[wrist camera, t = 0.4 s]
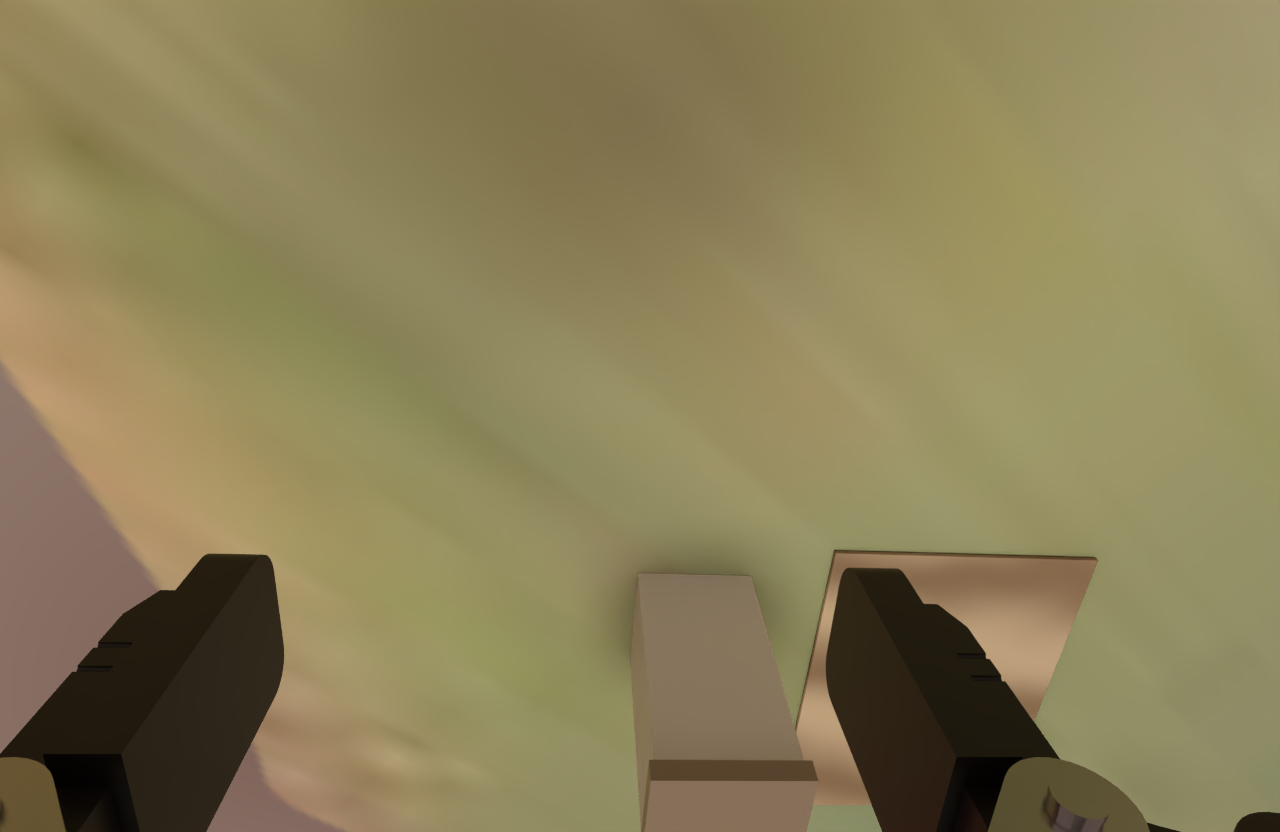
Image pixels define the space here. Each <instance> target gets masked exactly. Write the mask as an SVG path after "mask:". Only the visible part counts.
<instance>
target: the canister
mask: <svg viewBox="0 0 1280 832" xmlns="http://www.w3.org/2000/svg"><path fill="white" fill-rule="evenodd" d="M630 667H631V682H632V698H633V714H634V730H635V745H636V761H637V777H638V793H639V808H640V824H641V832H806V830H807V826H808V822H809V818H810V814H811V810H812V806H813V802H814V798H815V794H816V790H817V786H818V782H819V781H818V777H817V774H816V771H815V767H814V764H813V761H812V760H804V758H803V755H802V751H801V748H800V744H799V741H798V737H797V734H796V730H795V727H794V723H793V720H792V716H791V713H790V710H789V706H788V703H787V699H786V696H785V692H784V689H783V685H782V682H781V678H780V675H779V672H778V668H777V665H776V661H775V658H774V654H773V651H772V647H771V644H770V640H769V637H768V634H767V630H766V627H765V623H764V620H763V616H762V613H761V609H760V606H759V602H758V599H757V595H756V592H755V589H754V585H753V582H752V578H751V576H736V575H696V574H656V573H638V578H637V589H636V600H635V611H634V622H633V634H632V645H631V656H630Z"/></svg>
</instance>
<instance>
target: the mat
mask: <svg viewBox="0 0 1280 832" xmlns="http://www.w3.org/2000/svg"><path fill="white" fill-rule="evenodd" d="M1097 562H1098V560H1097V559H1096V558H1084V557H1048V556H1012V555H976V554H940V553H903V552H867V551H834V556H833V560H832V565H831V569H830V574H829V578H828V583H827V587H826V592H825V597H824V601H823V606H822V610H821V615H820V619H819V624H818V628H817V633H816V638H815V642H814V647H813V651H812V656H811V660H810V665H809V669H808V674H807V678H806V683H805V688H804V692H803V697H802V701H801V706H800V710H799V715H798V719H797V724H796V728H795V730H796V734H797V737H798V741H799V744H800V748H801V751H802V755H803V758H804V760H812V761H813V764H814V767H815V771H816V774H817V777H818V781H819V782H818V786H817V790H816V794H815V798H814V802H813V805H872V804H871V802H870V799H869V797H868V794H867V791H866V789H865V786H864V784H863V781H862V779H861V776H860V774H859V771H858V769H857V766H856V764H855V761H854V759H853V756H852V753H851V751H850V748H849V746H848V743H847V741H846V738H845V736H844V733H843V731H842V728H841V726H840V723H839V721H838V718H837V716H836V713H835V710H834V708H833V705H832V703H831V700H830V697H829V693H828V688H827V682H826V654H827V648H828V643H829V637H830V632H831V627H832V621H833V616H834V610H835V605H836V599H837V594H838V589H839V583H840V579H841V576H842V573H843V571H844V570H845V569H846V568H898V569H900V570H901V571H902V572H903V573H904V574H905V576H906V577H907V579H908V580H909V582H910V583H911V585H912V586H913V588H914V589H915V591H916V593H917V594H918V596H919V597H920V599H921V600H922V602H923V603H924V604H938V605H939V606H941V607H942V608H943V609H945V610H946V611H947V612H948V613H950V614H951V615H952V616H954V617H955V618H956V619H958V620H959V621H960V622H962V623H963V624H964V625H965V626H967V627H968V629H969V630H970V631H971V633H972V634H973V636H974V637H975V639H976V640H977V641H978V643H979V644H980V646H981V647H982V648H983V650H984V651H985V653H986V659H990V660H991V661H992V663H993V664H994V666H995V667H996V668H997V670H998V671H999V673H1000V674H1001V679H1002V681H1006V683H1007V684H1008V686H1009V687H1010V688H1011V690H1012V691H1013V693H1014V694H1015V696H1016V697H1017V698H1018V700H1019V701H1020V703H1021V704H1022V706H1023V707H1024V708H1025V710H1026V711H1027V713H1028V714H1029V716H1030V717H1031V718H1032V720H1033V721H1034V720H1035V718H1036V715H1037V713H1038V710H1039V708H1040V705H1041V702H1042V700H1043V697H1044V695H1045V692H1046V690H1047V687H1048V685H1049V682H1050V680H1051V677H1052V675H1053V672H1054V670H1055V667H1056V665H1057V662H1058V660H1059V657H1060V655H1061V652H1062V650H1063V647H1064V645H1065V642H1066V640H1067V637H1068V635H1069V632H1070V630H1071V627H1072V625H1073V622H1074V620H1075V617H1076V615H1077V612H1078V610H1079V607H1080V605H1081V602H1082V600H1083V597H1084V595H1085V592H1086V590H1087V587H1088V585H1089V582H1090V580H1091V577H1092V575H1093V572H1094V570H1095V567H1096V564H1097Z"/></svg>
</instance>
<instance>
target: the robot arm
mask: <svg viewBox="0 0 1280 832" xmlns="http://www.w3.org/2000/svg"><path fill="white" fill-rule="evenodd" d="M98 643H99V644H98V647H97V648H93V649H92V650H91V651H90V652H89V653H88V655H87V656H86V657H85V658H84V659H83V660H82V661H81V662H80V664H79V665H78V669H77V672H72V673H71V674H70V675H69V676H68V677H67V678H66V680H65V681H64V682H63V683H62V684H61V685H60V686H59V688H58V689H57V690H56V691H55V692H54V693H53V694H52V696H51V697H50V698H49V699H48V700H47V701H46V702H45V704H44V705H43V706H42V707H41V708H40V709H39V710H38V712H37V713H36V714H35V715H34V716H33V717H32V718H31V719H30V721H29V722H28V723H27V724H26V725H25V726H24V727H23V729H22V730H21V731H20V732H19V733H18V734H17V735H16V737H15V738H14V739H13V740H12V741H11V742H10V743H9V745H8V746H7V747H6V748H5V749H4V750H3V751H2V753H1V754H0V832H206V831H207V829H208V827H209V825H210V823H211V821H212V819H213V817H214V815H215V813H216V811H217V809H218V807H219V805H220V803H221V802H222V800H223V798H224V795H225V794H226V792H227V790H228V788H229V786H230V784H231V782H232V780H233V778H234V776H235V774H236V772H237V770H238V768H239V766H240V764H241V762H242V760H243V758H244V756H245V754H246V752H247V750H248V749H249V747H250V745H251V743H252V741H253V739H254V737H255V735H256V733H257V731H258V729H259V727H260V725H261V723H262V721H263V719H264V717H265V715H266V713H267V711H268V709H269V707H270V705H271V703H272V701H273V700H274V698H275V695H276V693H277V691H278V688H279V685H280V681H281V677H282V671H283V664H284V645H283V637H282V629H281V622H280V614H279V606H278V599H277V591H276V583H275V576H274V569H273V565H272V562H271V560H270V558H269V557H268V556H267V555H251V554H207V555H205V556H203V557H202V558H201V559H200V561H199V562H198V563H197V564H196V566H195V567H194V568H193V569H192V570H191V572H190V573H189V574H188V575H187V577H186V578H185V579H184V580H183V582H182V583H181V584H180V585H179V586H178V588H177V589H176V590H160V591H158V592H157V593H155V594H154V595H152V596H151V597H149V598H147V599H146V600H144V601H143V602H141V603H140V604H138V605H136V606H135V607H133V608H132V609H130V610H129V611H127V612H125V613H124V614H123V615H122V616H121V617H120V618H119V619H118V620H117V621H116V622H115V624H114V625H113V626H112V627H111V628H110V629H109V631H108V632H107V633H106V634H105V635H104V636H103V638H101V640H100V641H99V642H98ZM826 682H827V688H828V693H829V697H830V700H831V703H832V705H833V708H834V710H835V713H836V716H837V718H838V721H839V723H840V726H841V728H842V731H843V733H844V736H845V738H846V741H847V743H848V746H849V748H850V751H851V753H852V756H853V759H854V761H855V764H856V766H857V769H858V771H859V774H860V776H861V779H862V781H863V784H864V786H865V789H866V791H867V794H868V797H869V799H870V802H871V804H872V807H873V809H874V812H875V814H876V817H877V819H878V822H879V824H880V827H881V829H882V832H1180V831H1176V830H1172V829H1168V828H1164V827H1160V826H1157V825H1153V824H1150V823H1147V822H1146V821H1145V819H1144V817H1143V815H1142V813H1141V812H1140V811H1139V809H1138V808H1137V806H1136V805H1135V804H1134V803H1133V802H1132V801H1131V800H1130V799H1129V797H1128V796H1127V795H1125V794H1124V793H1123V792H1122V791H1121V790H1120V789H1119V788H1118V787H1116V786H1115V785H1113V784H1112V783H1111V782H1109V781H1108V780H1107V779H1105V778H1103V777H1102V776H1100V775H1098V774H1097V773H1095V772H1093V771H1091V770H1089V769H1087V768H1085V767H1082V766H1080V765H1077V764H1074V763H1072V762H1068V761H1064V760H1061V759H1060V758H1059V757H1058V756H1057V754H1056V753H1055V751H1054V750H1053V748H1052V747H1051V746H1050V744H1049V743H1048V741H1047V740H1046V738H1045V737H1044V736H1043V734H1042V733H1041V731H1040V730H1039V728H1038V727H1037V726H1036V724H1035V723H1034V721H1033V720H1032V718H1031V717H1030V716H1029V714H1028V713H1027V711H1026V710H1025V708H1024V707H1023V706H1022V704H1021V703H1020V701H1019V700H1018V698H1017V697H1016V696H1015V694H1014V693H1013V691H1012V690H1011V688H1010V687H1009V686H1008V684H1007V683H1006V681H1002V679H1001V674H1000V673H999V671H998V670H997V668H996V667H995V666H994V664H993V663H992V661H991V660H990V659H986V653H985V651H984V650H983V648H982V647H981V646H980V644H979V643H978V641H977V640H976V639H975V637H974V636H973V634H972V633H971V631H970V630H969V629H968V627H967V626H965V625H964V624H963V623H962V622H960V621H959V620H958V619H956V618H955V617H954V616H952V615H951V614H950V613H948V612H947V611H946V610H945V609H943V608H942V607H941V606H939V605H938V604H924V603H923V602H922V600H921V599H920V597H919V596H918V594H917V593H916V591H915V589H914V588H913V586H912V585H911V583H910V582H909V580H908V579H907V577H906V576H905V574H904V573H903V572H902V571H901V570H900V569H898V568H846V569H845V570H844V571H843V573H842V576H841V579H840V583H839V589H838V594H837V599H836V605H835V610H834V616H833V621H832V627H831V632H830V637H829V643H828V648H827V654H826ZM1233 832H1280V813H1272V812H1257V813H1253V814H1249V815H1247V816H1245V817H1243V818H1242V819H1241V820H1240V821H1239V822H1238V823H1237V825H1236V827H1235V829H1234V831H1233Z"/></svg>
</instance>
